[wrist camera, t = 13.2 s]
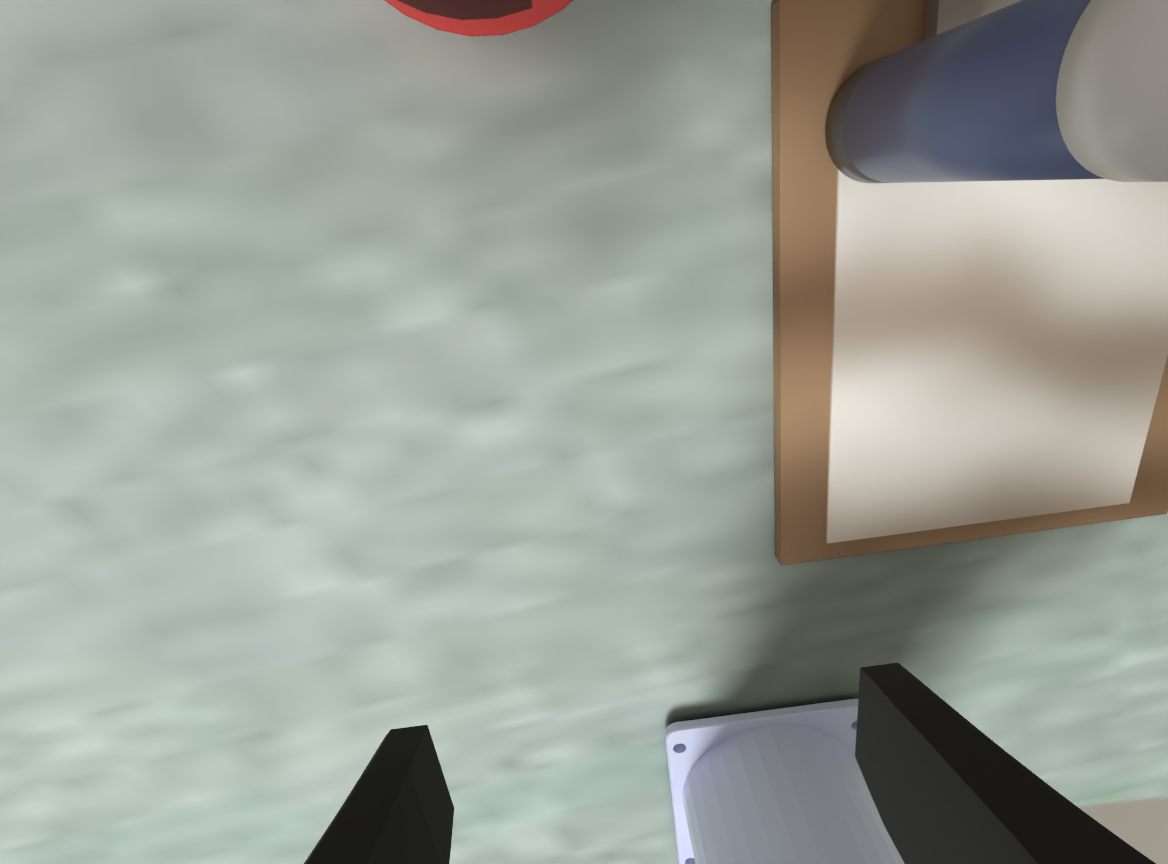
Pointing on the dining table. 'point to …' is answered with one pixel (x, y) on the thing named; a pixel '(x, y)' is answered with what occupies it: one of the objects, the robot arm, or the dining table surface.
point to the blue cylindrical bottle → (1014, 99)
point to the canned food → (479, 14)
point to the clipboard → (951, 326)
